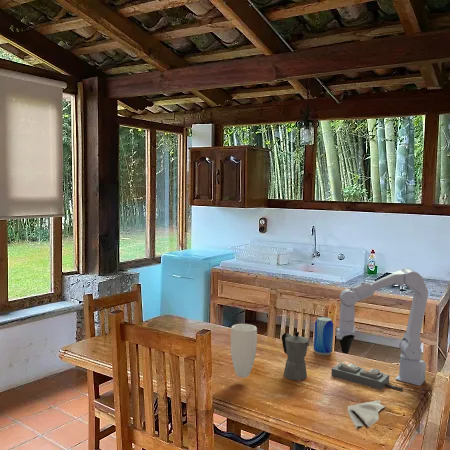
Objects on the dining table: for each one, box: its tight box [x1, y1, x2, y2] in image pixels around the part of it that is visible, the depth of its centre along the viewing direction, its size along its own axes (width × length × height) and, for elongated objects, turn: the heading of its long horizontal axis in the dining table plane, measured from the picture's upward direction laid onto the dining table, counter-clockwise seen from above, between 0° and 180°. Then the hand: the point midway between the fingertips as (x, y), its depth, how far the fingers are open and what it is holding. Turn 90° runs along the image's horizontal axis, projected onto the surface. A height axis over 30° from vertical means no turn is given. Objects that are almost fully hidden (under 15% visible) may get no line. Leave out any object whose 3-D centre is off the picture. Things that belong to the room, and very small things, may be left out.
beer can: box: [313, 316, 334, 356], centre depth 214 cm, size 8×8×16 cm
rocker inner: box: [362, 368, 381, 374], centre depth 181 cm, size 6×4×1 cm, turn 53°
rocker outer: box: [341, 360, 359, 370], centre depth 186 cm, size 6×4×1 cm, turn 52°
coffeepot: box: [281, 331, 310, 381], centre depth 186 cm, size 15×9×18 cm, turn 33°
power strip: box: [331, 362, 404, 392], centre depth 182 cm, size 26×9×4 cm, turn 53°
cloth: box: [346, 400, 386, 432], centre depth 155 cm, size 26×14×2 cm, turn 134°
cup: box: [230, 323, 258, 378], centre depth 176 cm, size 10×10×22 cm
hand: (345, 352), depth 187 cm, fingers closed
